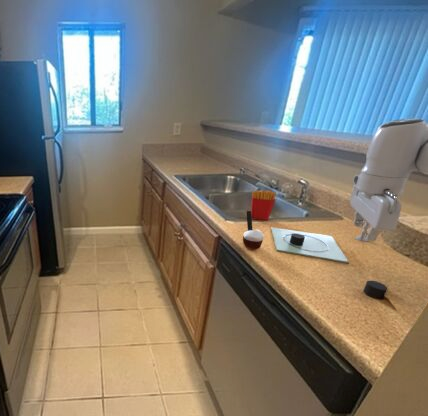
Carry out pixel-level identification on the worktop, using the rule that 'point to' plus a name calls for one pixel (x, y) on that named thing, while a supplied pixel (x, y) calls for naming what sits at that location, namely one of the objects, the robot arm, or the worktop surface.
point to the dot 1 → (297, 239)
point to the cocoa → (252, 235)
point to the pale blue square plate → (308, 245)
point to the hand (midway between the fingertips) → (363, 232)
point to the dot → (375, 289)
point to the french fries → (262, 204)
